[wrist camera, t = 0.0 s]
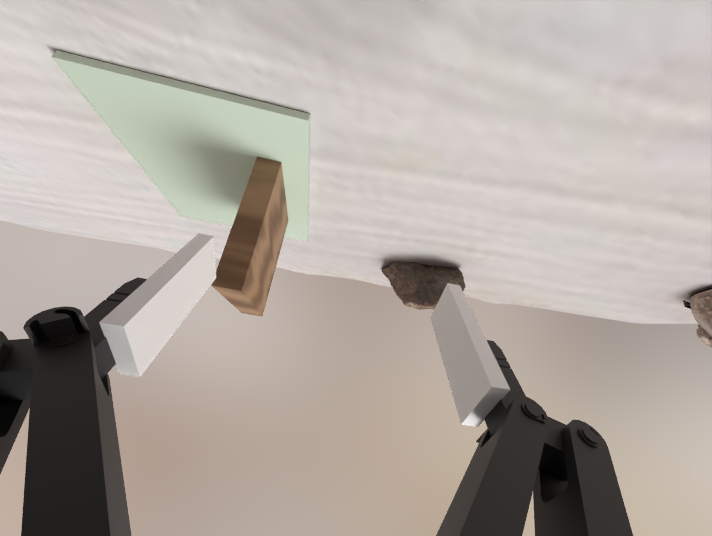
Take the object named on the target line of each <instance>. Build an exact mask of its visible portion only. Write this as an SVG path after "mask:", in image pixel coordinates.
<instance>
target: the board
mask: <svg viewBox="0 0 712 536" xmlns="http://www.w3.org/2000/svg"><path fill="white" fill-rule="evenodd" d="M287 224H288V212H287V204H286V196H285V187H284V179H283V171H282V162H278V161H274V160H270V159H266V158H261V157H257V158H256V161H255V164H254V166H253V169H252V172H251V175H250V178H249V181H248V183H247V186H246V189H245V192H244V195H243V197H242V200H241V203H240V206H239V209H238V212H237V214H236V217H235V220H234V223H233V226H232V228H231V231H230V234H229V237H228V240H227V243H226V245H225V248H224V251H223V254H222V257H221V259H220V262H219V265H218V268H217V271H216V279H215V280H214V282H213V283H212V286H213V287H214V288H215V289H216V290H217V291H218V292H219V293H220V294H221V295H223V296H224V297H225V298H226V299H227V300H228V301H229V302H230V303H231V304H233V305H234V306H235V307H236V308H237V309H238V310H239V311H240V312H241V313H246V314H251V315H257V316H262V315H263V312H264V308H265V304H266V301H267V297H268V293H269V290H270V286H271V282H272V278H273V275H274V271H275V268H276V264H277V260H278V257H279V253H280V249H281V246H282V242H283V238H284V235H285V231H286V227H287Z"/></svg>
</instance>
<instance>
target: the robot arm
mask: <svg viewBox="0 0 712 536" xmlns="http://www.w3.org/2000/svg"><path fill="white" fill-rule="evenodd" d="M215 279H216V265H215V249H214V236H210V235H205V234H200V233H199V234H198V235H196V236H195V237H194V238H193V239H192V240H191V241H190V242H189V243H187V244H186V245H185V246H184V247H183V248H182V249H181V250H180V251H179V252H177V253H176V254H175V255H174V256H173V257H172V258H171V259H170V260H168V261H167V262H166V263H165V264H164V265H163V266H162V267H161V268H159V269H158V270H157V271H156V272H155V273H154V274H153V275H152V276H151V277H149V278H148V279H142V278H136V279H134V280H132V281H129V282H127V283H125V284H124V285H122V286H121V287H120V288H118V289H117V290H116V291H115V293H113V294H111V295H110V296H109V297H108V298H107V299H106V300H104V301H103V302H102V303H100V304H99V305H98V306H97V307H96V308H94V309H93V310H92V311H91V312H89V313H88V314H87V315H86V316H85V317H84V316H83V314H82V312H81V310H79V309H77V308H74V307H58V308H52V309H49V310H46V311H42V312H41V313H38V314H36V315H34V316H33V317H32V318H30V319H29V320H28V321H27V322H26V324H25V325H24V330H25V331H26V333H27V335H28V337H29V338H30V339H19V340H8V339H7V337H6V336H5V335H4V333H3V332H1V331H0V473H1V471H2V469H3V467H4V464H5V462H6V460H7V457H8V455H9V453H10V451H11V449H12V446H13V444H14V442H15V439H16V437H17V435H18V433H19V430H20V428H21V426H22V423H23V421H24V419H25V417H26V414H27V412H28V410H29V408H30V415H29V429H28V444H27V458H26V474H25V488H24V503H23V518H22V533H21V536H131V530H130V523H129V515H128V508H127V501H126V494H125V487H124V480H123V472H122V466H121V458H120V452H119V444H118V437H117V429H116V422H115V415H114V408H113V401H112V394H111V386H110V379H109V376H108V374H107V373H108V372H109V371H110V370H111V368H112V367H113V366H114V365H116V367H117V370H118V372H119V374H123V375H130V376H137V377H141V375H142V374H143V373H144V371H145V370H146V369H147V367H148V366H149V365H150V364H151V362H152V361H153V360H154V358H155V357H156V356H157V354H158V353H159V352H160V351H161V349H162V348H163V346H164V345H165V344H166V343H167V341H168V340H169V339H170V338H171V336H172V335H173V334H174V332H175V331H176V330H177V328H178V327H179V326H180V324H181V323H182V322H183V321H184V319H185V318H186V316H187V315H188V314H189V312H190V311H191V310H192V309H193V308H194V306H195V305H196V304H197V302H198V301H199V300H200V298H201V297H202V296H203V295H204V293H205V292H206V291H207V289H208V288H209V287H210V285H211V284H212V283H213V282H214V280H215ZM431 321H432V325H433V328H434V331H435V335H436V338H437V342H438V345H439V349H440V352H441V356H442V359H443V363H444V366H445V370H446V373H447V377H448V380H449V383H450V387H451V390H452V394H453V397H454V401H455V404H456V408H457V411H458V415H459V418H460V422H461V424H462V425H468V426H476V427H478V426H479V425H480V424H481V423H482V421H484V419H485V422H486V424H487V427H488V429H487V430H486V431H485V432H484V433H483V434H482V436H480V438H479V439H478V440H477V441H476V442H478V443H479V442H480V443H479V445H478V447H477V449H476V451H475V453H474V455H473V458H472V460H471V462H470V464H469V466H468V468H467V471H466V473H465V475H464V477H463V479H462V481H461V483H460V486H459V488H458V490H457V492H456V494H455V497H454V499H453V501H452V503H451V505H450V507H449V509H448V511H447V514H446V516H445V518H444V520H443V522H442V524H441V527H440V529H439V531H438V533H437V535H436V536H522V533H523V529H524V525H525V521H526V517H527V513H528V509H529V504H530V500H531V496H532V491H533V497H534V519H535V536H633V534H632V530H631V527H630V523H629V520H628V516H627V513H626V509H625V506H624V502H623V498H622V495H621V492H620V488H619V485H618V481H617V477H616V474H615V470H614V467H613V464H612V460H611V456H610V453H609V450H608V446H607V444H606V442H605V441H604V439H603V438H602V436H601V435H600V434H599V433H598V432H597V431H596V430H595V429H593V428H592V427H591V426H589V425H588V424H587V423H585V422H582V421H580V420H572V421H571V422H570V423H569V424H568V425H565V424H563V423H561V422H558V421H556V420H554V419H552V418H550V417H548V416H547V415H546V412H545V411H544V410H543V409H542V407H541V406H540V405H538V404H537V403H536V402H535V401H533V400H532V399H530V398H528V397H526V396H525V394H524V392H523V390H522V388H521V386H520V384H519V382H518V380H517V379H516V377H515V375H514V373H513V371H512V369H510V365H509V363H508V362H507V361H506V357H505V356H504V354H503V352H502V350H501V349H500V348H499V347H498V346H497V345H496V343H495V342H494V341H489V340H486V338H485V336H484V334H483V332H482V330H481V328H480V326H479V324H478V321H477V319H476V318H475V315H474V313H473V311H472V309H471V307H470V305H469V303H468V301H467V299H466V297H465V295H464V293H463V291H462V288H461V286H460V285H455V284H450V283H447V285H446V287H445V289H444V291H443V293H442V295H441V297H440V299H439V301H438V303H437V305H436V307H435V309H434V311H433V313H432V316H431Z"/></svg>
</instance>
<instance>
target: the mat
mask: <svg viewBox="0 0 712 536" xmlns="http://www.w3.org/2000/svg"><path fill="white" fill-rule="evenodd" d="M52 58H53V59H54V61H55V62H56V63H57V64H58V66H59V67H60V68H61V69H62V71H63V72H64V73H65V74H66V75H67V77H68V78H69V79H70V80H71V82H72V83H73V84H74V85H75V87H76V88H77V89H78V90H79V91H80V93H81V94H82V95H83V96H84V98H85V99H86V100H87V101H88V103H89V104H90V105H91V106H92V107H93V109H94V110H95V111H96V112H97V114H98V115H99V116H100V117H101V119H102V120H103V121H104V122H105V123H106V125H107V126H108V127H109V128H110V130H111V131H112V132H113V133H114V135H115V136H116V137H117V138H118V140H119V141H120V142H121V143H122V144H123V146H124V147H125V148H126V149H127V151H128V152H129V153H130V154H131V156H132V157H133V158H134V159H135V160H136V162H137V163H138V164H139V165H140V167H141V168H142V169H143V170H144V172H145V173H146V174H147V175H148V176H149V178H150V179H151V180H152V181H153V183H154V184H155V185H156V186H157V188H158V189H159V190H160V191H161V192H162V194H163V195H164V196H165V197H166V199H167V200H168V201H169V202H170V204H171V205H172V206H173V207H174V209H175V210H176V211H177V212H178V213H179V215H180V216H183V217H188V218H193V219H198V220H203V221H208V222H212V223H217V224H222V225H227V226H233V223H234V220H235V217H236V214H237V212H238V209H239V206H240V203H241V200H242V197H243V195H244V192H245V189H246V186H247V183H248V181H249V178H250V175H251V172H252V169H253V166H254V164H255V161H256V158H257V157H261V158H266V159H270V160H274V161H278V162H282V171H283V179H284V187H285V196H286V204H287V212H288V224H287V227H286V231H285V235H284V237H285V238H290V239H295V240H300V241H305V242H308V235H309V163H310V114H309V113H305V112H301V111H297V110H293V109H289V108H285V107H281V106H277V105H273V104H269V103H265V102H261V101H257V100H253V99H249V98H245V97H241V96H237V95H233V94H229V93H225V92H221V91H217V90H213V89H209V88H205V87H201V86H197V85H193V84H189V83H185V82H181V81H177V80H173V79H170V78H166V77H162V76H158V75H154V74H150V73H146V72H142V71H138V70H134V69H130V68H126V67H122V66H118V65H114V64H110V63H106V62H102V61H98V60H94V59H90V58H86V57H82V56H78V55H74V54H70V53H66V52H62V51H58V50H57V51H56V52H55V53H54V54H53V55H52Z"/></svg>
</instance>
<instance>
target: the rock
mask: <svg viewBox="0 0 712 536" xmlns="http://www.w3.org/2000/svg"><path fill="white" fill-rule="evenodd" d="M382 272H383V273H384V275H385V276H386V277H387V278H388V279H389V281H390V283H391V286H393V289H394V291H395V292H396V294H397V296H398V297H399V298H400V299H401V300H402V301H403V304H404V305H406V306H409V307H413V308H416V309H435V307H436V305H437V303H438V301H439V299H440V297H441V295H442V293H443V291H444V289H445V287H446V285H447V283H450V284H455V285H460V286H461V288H462V291H464V288H465V283H464V281H463V279H464V278H463V275H462V272H461V271H460V270H459V269H457V268H448V267H439V266H431V267H426V266H424V265H421V264H419V263H408V262H392V263H391V264H390V266H388V267H385V268H383V269H382Z"/></svg>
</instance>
